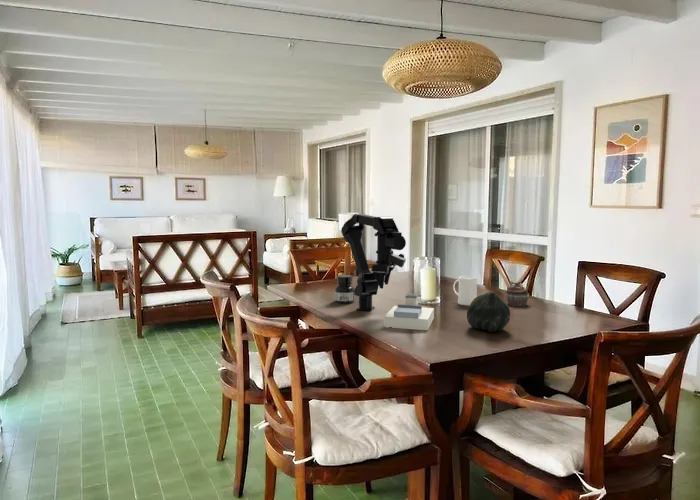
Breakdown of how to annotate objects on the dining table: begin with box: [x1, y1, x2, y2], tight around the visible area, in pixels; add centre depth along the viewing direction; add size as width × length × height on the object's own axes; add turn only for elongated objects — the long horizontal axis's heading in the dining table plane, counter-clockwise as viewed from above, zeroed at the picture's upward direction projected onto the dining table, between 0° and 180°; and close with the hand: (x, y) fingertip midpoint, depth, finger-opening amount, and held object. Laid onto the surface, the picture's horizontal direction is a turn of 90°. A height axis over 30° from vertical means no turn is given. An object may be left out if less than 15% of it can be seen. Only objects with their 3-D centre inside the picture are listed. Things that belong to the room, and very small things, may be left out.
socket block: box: [383, 305, 435, 331], centre depth 191 cm, size 19×16×4 cm
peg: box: [405, 293, 419, 305], centre depth 194 cm, size 4×4×10 cm
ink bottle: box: [334, 274, 355, 304], centre depth 228 cm, size 10×9×12 cm
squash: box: [466, 291, 511, 333], centre depth 180 cm, size 14×15×15 cm
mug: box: [452, 275, 478, 306], centre depth 226 cm, size 12×8×12 cm
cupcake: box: [505, 281, 530, 307], centre depth 223 cm, size 10×10×10 cm
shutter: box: [394, 303, 423, 318], centre depth 186 cm, size 8×9×3 cm
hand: (384, 286), depth 201 cm, fingers open, 9 cm apart
